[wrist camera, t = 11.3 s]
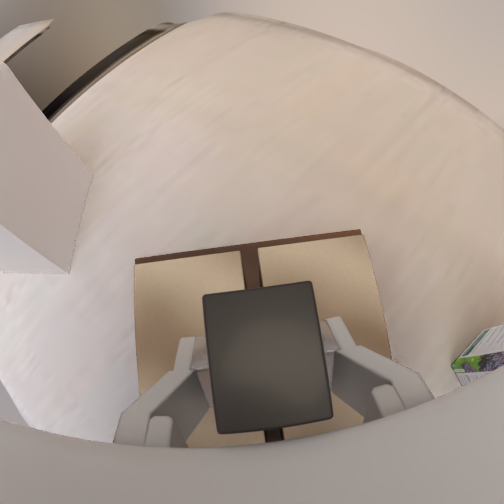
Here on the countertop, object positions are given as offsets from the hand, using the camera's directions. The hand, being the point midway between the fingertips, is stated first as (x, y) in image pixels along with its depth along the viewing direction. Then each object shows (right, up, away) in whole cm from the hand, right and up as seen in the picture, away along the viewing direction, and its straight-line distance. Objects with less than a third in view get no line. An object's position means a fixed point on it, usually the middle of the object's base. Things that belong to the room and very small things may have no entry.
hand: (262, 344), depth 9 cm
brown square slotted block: (+1, -6, +12) cm, 14 cm away
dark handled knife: (0, -5, +9) cm, 10 cm away
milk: (-24, +6, +18) cm, 31 cm away
